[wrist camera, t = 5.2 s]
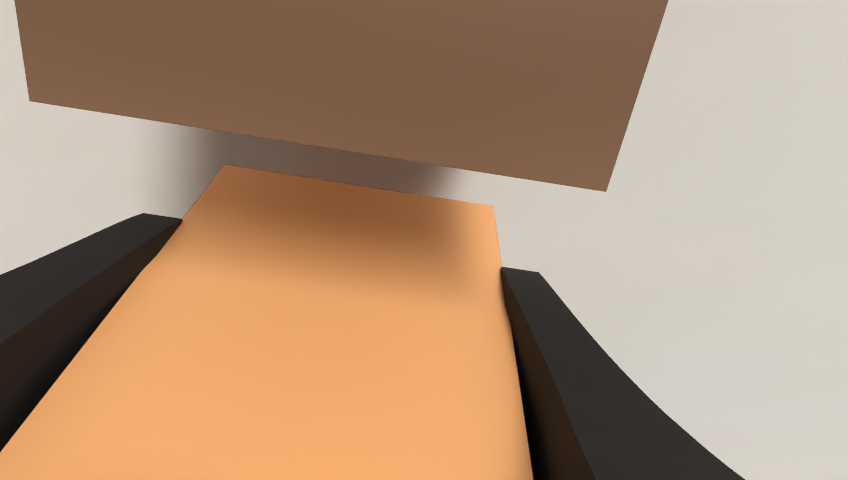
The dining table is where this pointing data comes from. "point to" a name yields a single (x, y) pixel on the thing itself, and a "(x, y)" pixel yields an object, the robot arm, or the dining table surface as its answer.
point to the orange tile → (296, 348)
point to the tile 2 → (363, 74)
